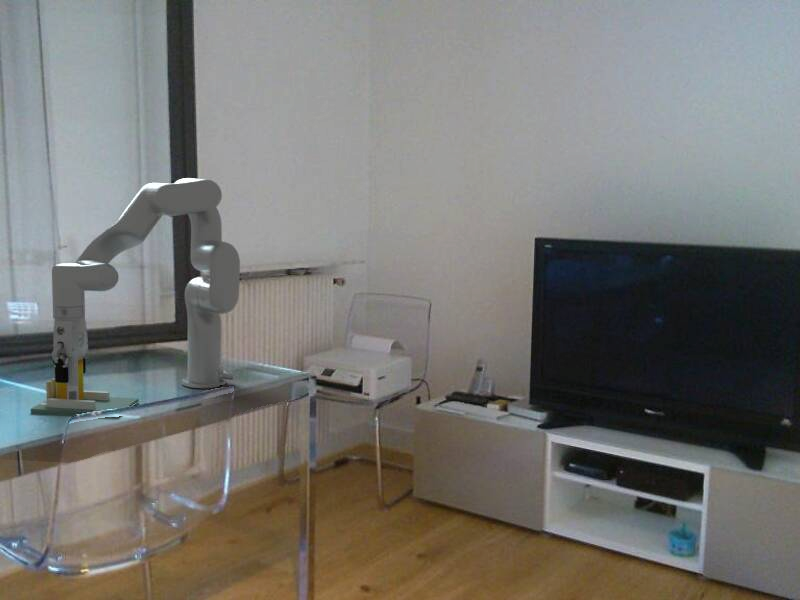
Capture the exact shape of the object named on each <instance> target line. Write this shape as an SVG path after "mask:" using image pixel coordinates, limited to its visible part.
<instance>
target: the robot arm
mask: <svg viewBox="0 0 800 600" xmlns="http://www.w3.org/2000/svg"><path fill="white" fill-rule="evenodd" d="M222 195H223V193H222V189H221V187H220V186H219V184H218V183H217V182H215V180H211V179H208V178H192V177H186V178H181V179H178V180H176V181H175V182H174V183H163V182H162V183H161V182H151V183H147V184H145V185H144V186H142V188H141V189H140V190H139V191H138V193H137V194H136V195H135V196H134V198H133V199H132V200H131V202H130V203H129V205H128V206H127V207H126V208H125V210H124V211H123V213H122V214H120V216H119V218H118V219H117V220H116V221H115V223H114V224H113V225H111V226H110V227H109V228H107V229H105V230H104V231H103V232H101V234H100V235H98V236H96V237H95V238H94V240H92V241H91V242H90V244H88V245H87V247H86V248H85V249H84V250H83V252H82V253H81V254H80V256H79V257H78V258H77V260H76V261H75V262H73V263H72V262H63V263H56V264H54V265H53V266H52V268H51V290H52V296H51V297H52V319H53V320H54V324H53V325H54V326H53V350H52V352H51V357H52V363H53V368H54V379H55V382H56V383H68V382H69V375H68V367H67V363H68V360H69V357H70V358H71V359H74V358H76V357H78V356H79V351H80V350H81V349H82V350H83V375H84V374H85V373H86V371H87V370H86V369H87V368H86V366H87V365H86V358H87V354H86V353H87V352H88V350H89V340H88V329H87V322H86V304H85V302H86V301H85V300H86V299H85V298H86V297H85V293H86V292H107V291H110V290H112V289H114V288H115V287H116V286H117V284H118V283H119V279H120V278H119V276H120V275H119V273H118V270H117V269H116V267H114V266H113V265H111V264H109V263H110V262H111V261H112V260H113V259H114V258H115V257H116V256H118V255H119V254H121V253H123V252H125V251H128V250H130V249H132V248H135V247H137V246H140V244H142V243H144V242H145V241H146V239H147V238H148V236H149V234H150V233H151V232H152V230H153V229H154V228H155V227H156V225H157V224H158V222H159V221H161V219H162V217H163V216H171V217H174V216H175V217H177V216H182V215H187V216H188V217H189V221H190V228H191V229H190V230H191V231H190V232H191V233H190V235H191V236H190V237H191V238H190V264H191V265H192V267H193V269H196V271H200V272H202V273H206V274H209V275H208V276H197V277H194V278H192V279H190V280H189V281H188V283H187V284H186V287H185V288H184V289H185V290H184V303H185V307H186V313H187V376H185V377H184V378H182V379H181V384H182V386H184V387H188V388H191V389H192V388H193V389H212V388H219V387H221V386H220V385H222V386H225V384H226V383H227V382H226V381H227V380H228V381H229V380H231V381H235V378H236V373H233V371H226V370H224V367H223V366H222V319H221V315H224V314H228V313H230V312H232V311H233V310H234V309H235V308H236V306H237V304H238V300H239V295H240V277H241V276H240V275H241V274H240V273H241V270H240V269H241V261H240V260H241V259H240V255H239V252H238V250H237V249H236V247H235V246H234V245H233V244H231V243H229V242H226V241H223V239H222V237H223V235H222V234H223V233H222V232H223V230H222V229H223V227H222V218H221V215H220V214H221V213H220V211H219V210H218V208H217V207H218V206H219V205H220V203H221V200H222V197H223V196H222ZM61 354H66V355H61ZM62 359H64V362H63V361H62Z"/></svg>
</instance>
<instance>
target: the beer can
mask: <svg viewBox="0 0 800 600" xmlns="http://www.w3.org/2000/svg"><path fill="white" fill-rule="evenodd" d="M61 355H66V354H61ZM62 361H63V362H64V359H62ZM67 367H68V375H69V382H68V383H58V399H72V400H83V399H84V393H83V390H84V374H83V350H82V349H81V350H80V351H79V356H78V357H76V358H74V359H71V358H70V357H69V360H68V363H67Z"/></svg>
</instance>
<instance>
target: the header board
mask: <svg viewBox="0 0 800 600" xmlns="http://www.w3.org/2000/svg"><path fill="white" fill-rule="evenodd" d="M45 383H46V385H45V386H46V389H45V390H46V393H45V394H46V399H45V400H44V401H42V402H40V403H38V404H37V405H35V406H34V407H32V408H30V414H31V415H38V414H39V415H48V416H49V415H52V416H53V415H54V416H69V417H74V416H73V415H76V414H82V413H87V412H93V411H101V410H107V409H115V408H122V407H127V406H132V405H133V404H135V403H137V402H140V401H139V398H137V397H135V398H133V397H118V396H117V397H116V396H110V391H104V390H103V391H101V390H99V391H98V390H85V389H83V393H84V399H83V400H72V399H58V383H56V382H55V378H51V379H50V380H46V381H45Z"/></svg>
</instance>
